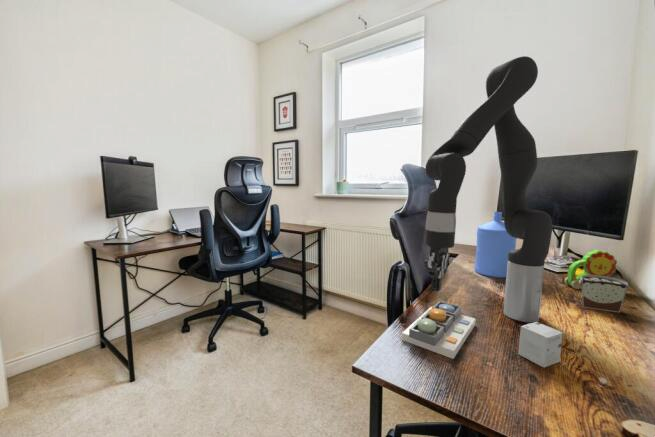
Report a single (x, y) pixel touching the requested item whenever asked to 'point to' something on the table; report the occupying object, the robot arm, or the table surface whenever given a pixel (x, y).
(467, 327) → the button panel
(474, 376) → the table surface
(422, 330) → the sage green button
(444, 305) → the slate blue button
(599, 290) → the food container
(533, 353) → the skincare box
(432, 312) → the orange button
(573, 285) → the toy lion
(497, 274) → the water jug
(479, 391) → the table surface
